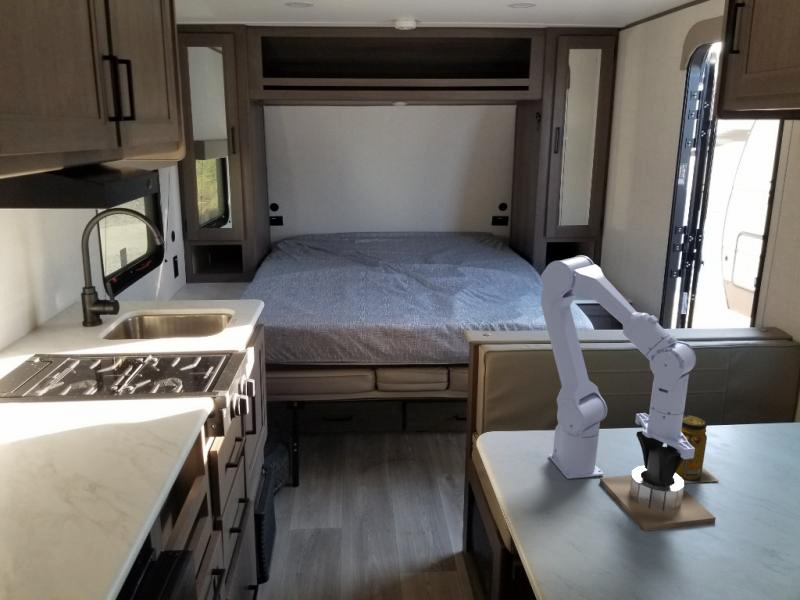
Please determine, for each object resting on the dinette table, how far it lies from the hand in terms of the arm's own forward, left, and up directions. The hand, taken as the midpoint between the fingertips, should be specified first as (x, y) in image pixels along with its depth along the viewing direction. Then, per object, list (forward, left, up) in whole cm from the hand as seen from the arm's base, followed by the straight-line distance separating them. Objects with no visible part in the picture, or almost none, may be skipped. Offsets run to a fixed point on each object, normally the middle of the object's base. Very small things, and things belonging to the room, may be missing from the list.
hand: (657, 474), depth 119 cm
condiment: (-8, +13, -6) cm, 16 cm away
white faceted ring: (0, 0, -6) cm, 6 cm away
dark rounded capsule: (0, 0, -1) cm, 1 cm away
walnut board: (0, 0, -6) cm, 6 cm away
